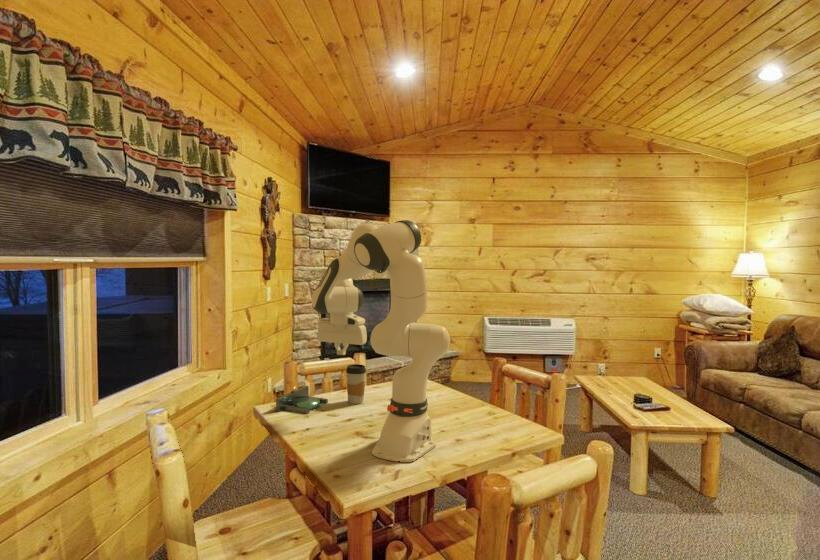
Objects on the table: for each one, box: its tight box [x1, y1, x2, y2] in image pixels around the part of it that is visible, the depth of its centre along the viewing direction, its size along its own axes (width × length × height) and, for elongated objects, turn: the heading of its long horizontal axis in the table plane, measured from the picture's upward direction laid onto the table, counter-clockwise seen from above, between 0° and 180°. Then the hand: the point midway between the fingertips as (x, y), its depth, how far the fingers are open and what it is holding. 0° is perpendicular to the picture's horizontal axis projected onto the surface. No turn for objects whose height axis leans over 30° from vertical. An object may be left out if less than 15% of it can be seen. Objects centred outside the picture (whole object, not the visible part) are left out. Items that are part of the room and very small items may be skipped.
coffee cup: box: [345, 363, 367, 405], centre depth 188 cm, size 8×8×15 cm
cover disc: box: [293, 396, 321, 411], centre depth 181 cm, size 10×10×2 cm
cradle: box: [275, 385, 329, 415], centre depth 182 cm, size 20×13×7 cm, turn 159°
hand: (341, 354), depth 175 cm, fingers closed
